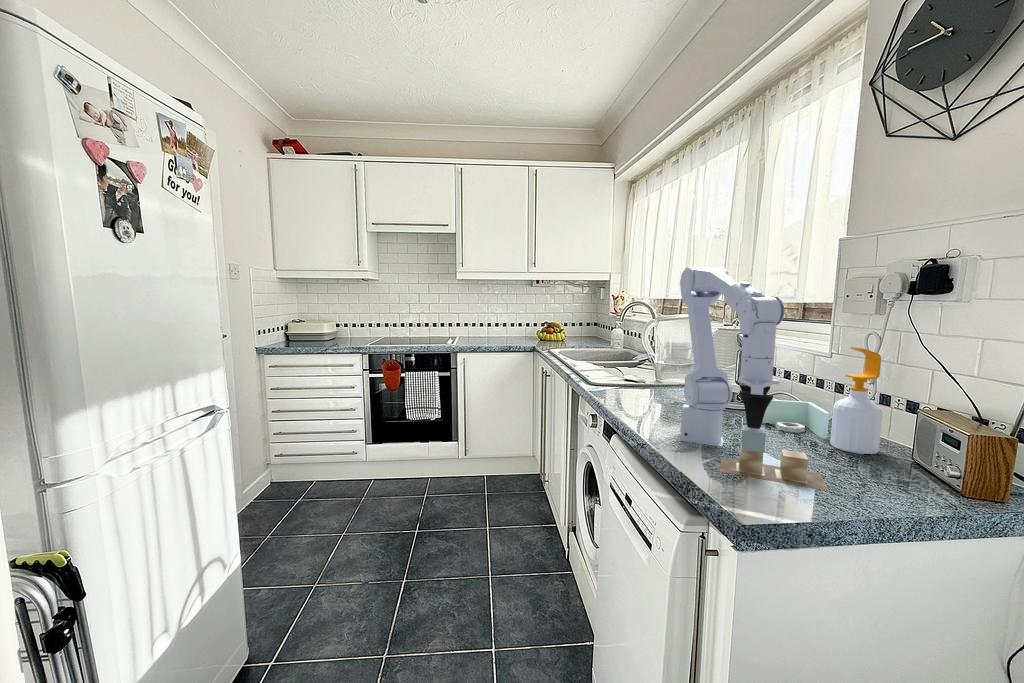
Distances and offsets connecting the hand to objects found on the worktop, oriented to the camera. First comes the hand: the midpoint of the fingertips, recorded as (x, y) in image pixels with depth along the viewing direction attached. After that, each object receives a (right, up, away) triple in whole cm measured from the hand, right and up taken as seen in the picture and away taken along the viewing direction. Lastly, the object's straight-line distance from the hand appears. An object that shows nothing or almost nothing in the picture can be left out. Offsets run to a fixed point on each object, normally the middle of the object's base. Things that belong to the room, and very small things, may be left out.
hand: (753, 422), depth 86 cm
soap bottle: (+33, -9, +16) cm, 38 cm away
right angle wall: (+28, -9, +30) cm, 42 cm away
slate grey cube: (0, -5, 0) cm, 5 cm away
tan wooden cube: (+6, -10, -2) cm, 12 cm away
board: (+3, -11, -1) cm, 11 cm away
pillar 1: (0, -10, +1) cm, 10 cm away
